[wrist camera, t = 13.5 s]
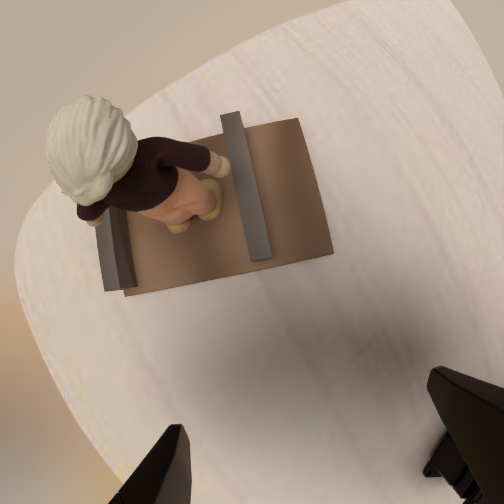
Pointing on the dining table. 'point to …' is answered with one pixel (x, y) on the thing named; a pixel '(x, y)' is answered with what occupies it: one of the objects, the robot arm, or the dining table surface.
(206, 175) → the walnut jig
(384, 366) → the dining table surface
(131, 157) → the grandmother figurine
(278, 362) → the dining table surface
